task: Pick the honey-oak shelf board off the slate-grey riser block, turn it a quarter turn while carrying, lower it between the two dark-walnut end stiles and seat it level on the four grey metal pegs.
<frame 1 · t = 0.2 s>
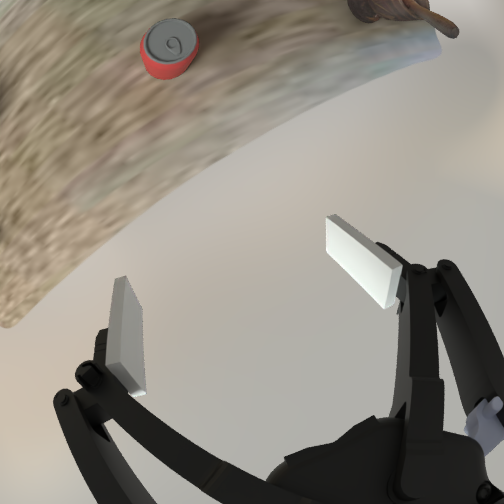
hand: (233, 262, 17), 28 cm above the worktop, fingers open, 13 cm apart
mortar and pestle: (366, 14, 34), on the worktop
beer can: (167, 59, 31), on the worktop
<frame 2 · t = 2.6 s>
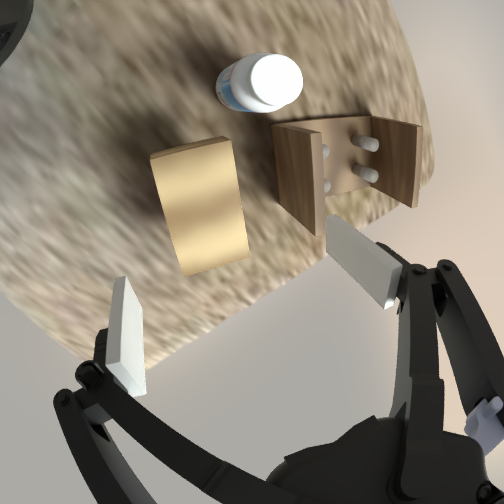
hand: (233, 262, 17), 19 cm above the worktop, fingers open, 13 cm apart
peg frame: (329, 156, 37), on the worktop
shelf board: (198, 200, 28), point 6 cm above the worktop, touching riser block
pill bottle: (239, 86, 29), on the worktop
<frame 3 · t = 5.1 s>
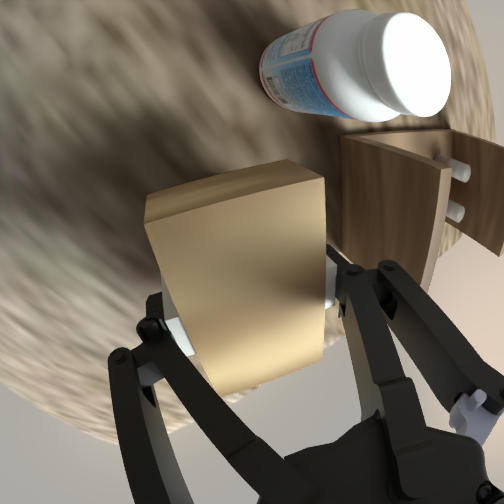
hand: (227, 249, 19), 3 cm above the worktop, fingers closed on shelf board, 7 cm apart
peg frame: (406, 183, 24), on the worktop
shelf board: (240, 276, 16), point 6 cm above the worktop, touching gripper, riser block
pill bottle: (296, 72, 17), on the worktop
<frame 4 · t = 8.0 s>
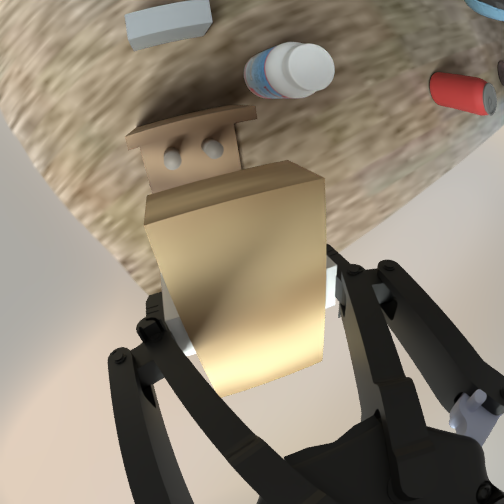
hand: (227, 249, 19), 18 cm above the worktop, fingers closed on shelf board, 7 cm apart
peg frame: (196, 179, 33), on the worktop
mortar and pestle: (502, 78, 38), on the worktop
beer can: (437, 88, 36), on the worktop
riser block: (166, 31, 23), on the worktop
shelf board: (240, 276, 16), point 21 cm above the worktop, touching gripper
pill bottle: (266, 75, 29), on the worktop
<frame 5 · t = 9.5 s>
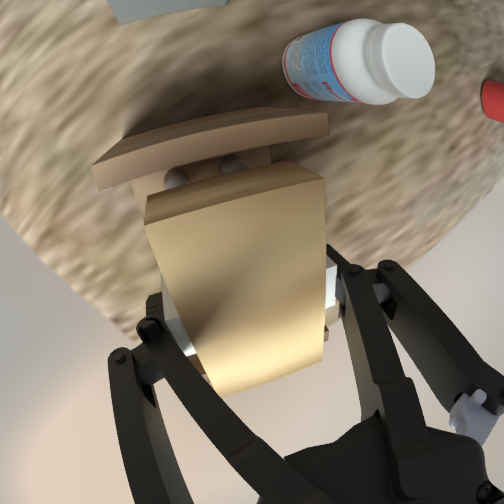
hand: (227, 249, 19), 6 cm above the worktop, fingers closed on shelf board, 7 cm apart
peg frame: (211, 214, 24), on the worktop
beer can: (486, 98, 26), on the worktop
shelf board: (240, 276, 16), point 9 cm above the worktop, touching gripper
pill bottle: (311, 67, 20), on the worktop
when the fingers open (3 cm above the worktop, at t = 10.9 s): shelf board drops 1 cm, resting on peg frame.
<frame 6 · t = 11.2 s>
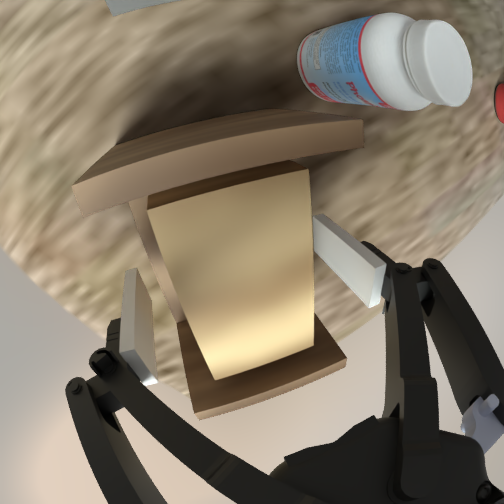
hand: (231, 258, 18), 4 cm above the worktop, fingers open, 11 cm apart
peg frame: (217, 229, 21), on the worktop
beer can: (499, 102, 24), on the worktop
shelf board: (234, 263, 17), point 5 cm above the worktop, touching peg frame
pill bottle: (327, 65, 17), on the worktop
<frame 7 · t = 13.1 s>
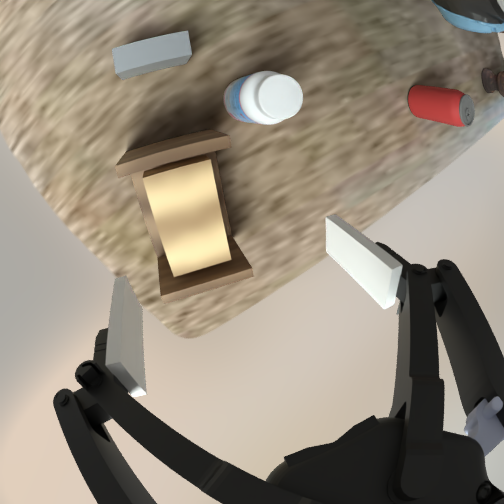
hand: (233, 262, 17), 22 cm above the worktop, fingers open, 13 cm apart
peg frame: (181, 198, 36), on the worktop
mortar and pestle: (486, 86, 44), on the worktop
beer can: (416, 100, 40), on the worktop
riser block: (152, 60, 26), on the worktop
shelf board: (186, 211, 32), point 5 cm above the worktop, touching peg frame
pill bottle: (244, 99, 33), on the worktop
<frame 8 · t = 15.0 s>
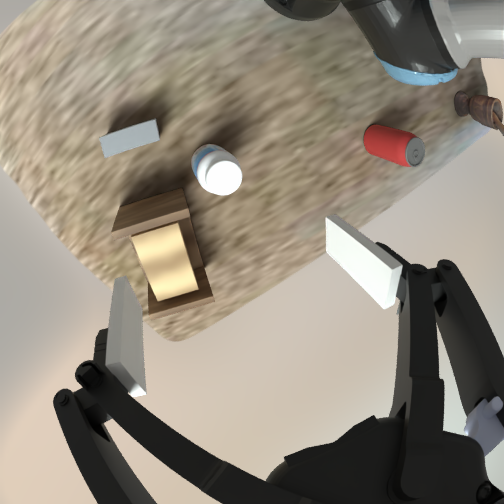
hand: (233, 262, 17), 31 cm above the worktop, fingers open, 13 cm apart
peg frame: (163, 239, 48), on the worktop
mortar and pestle: (460, 109, 53), on the worktop
beer can: (373, 139, 51), on the worktop
riser block: (133, 134, 37), on the worktop
shelf board: (165, 253, 44), point 5 cm above the worktop, touching peg frame
pill bottle: (209, 161, 44), on the worktop
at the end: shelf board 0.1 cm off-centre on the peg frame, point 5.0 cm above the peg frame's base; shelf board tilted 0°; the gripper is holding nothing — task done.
